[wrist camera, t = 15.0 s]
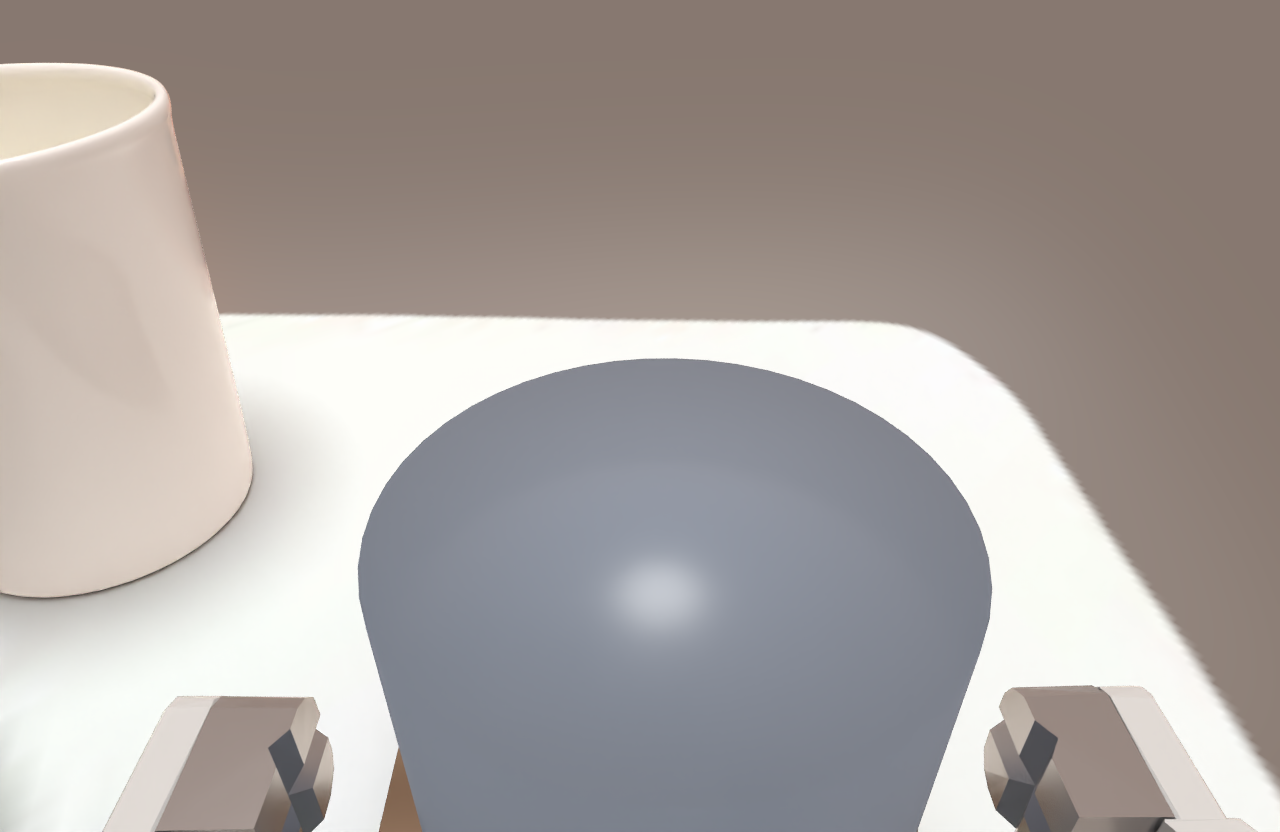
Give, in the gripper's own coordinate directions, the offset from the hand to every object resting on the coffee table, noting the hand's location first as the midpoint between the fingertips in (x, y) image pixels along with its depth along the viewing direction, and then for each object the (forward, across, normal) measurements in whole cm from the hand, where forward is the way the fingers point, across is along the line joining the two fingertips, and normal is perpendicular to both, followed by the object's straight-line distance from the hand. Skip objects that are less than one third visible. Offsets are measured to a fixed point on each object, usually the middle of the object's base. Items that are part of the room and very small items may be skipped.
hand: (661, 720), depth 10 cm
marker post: (-1, 0, +8) cm, 8 cm away
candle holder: (+14, +16, +9) cm, 24 cm away
